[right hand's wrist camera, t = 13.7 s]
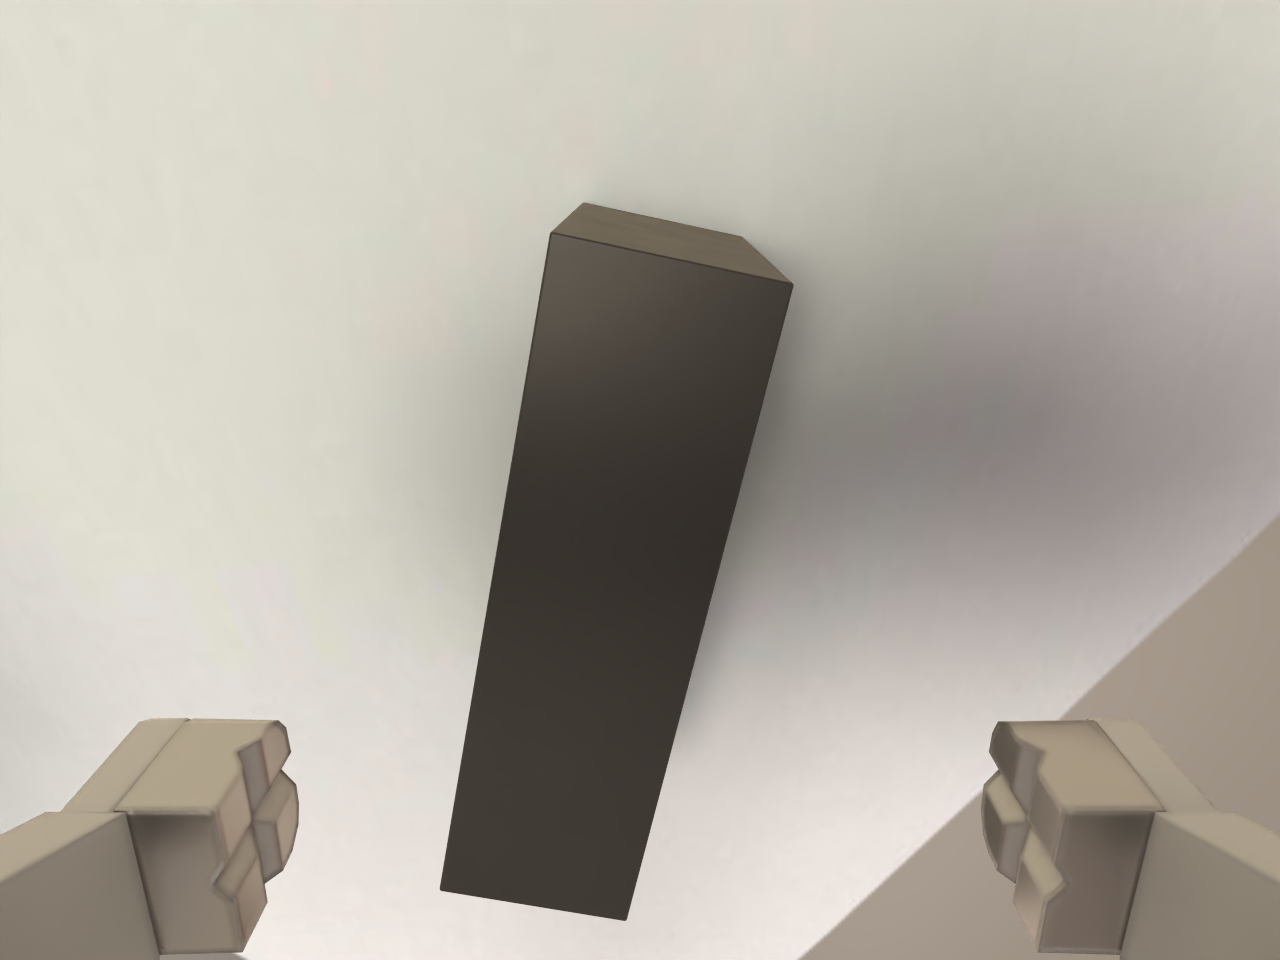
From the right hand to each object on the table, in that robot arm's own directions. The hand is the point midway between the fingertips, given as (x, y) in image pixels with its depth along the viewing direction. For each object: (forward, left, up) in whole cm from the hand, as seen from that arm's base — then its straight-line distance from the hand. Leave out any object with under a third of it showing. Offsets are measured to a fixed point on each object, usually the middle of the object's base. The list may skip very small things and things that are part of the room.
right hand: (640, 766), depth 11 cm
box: (+1, +6, -25) cm, 26 cm away
